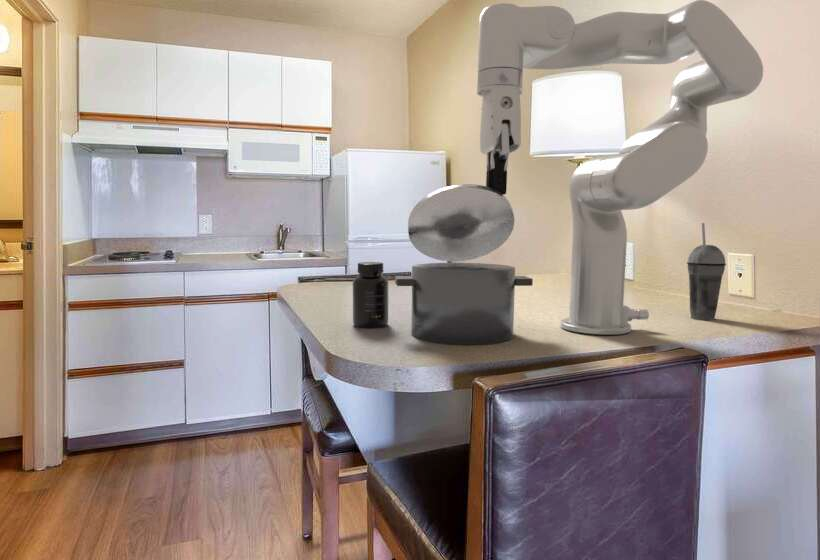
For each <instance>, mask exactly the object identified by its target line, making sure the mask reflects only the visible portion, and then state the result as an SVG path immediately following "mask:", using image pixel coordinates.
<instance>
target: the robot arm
mask: <svg viewBox="0 0 820 560" xmlns="http://www.w3.org/2000/svg"><path fill="white" fill-rule="evenodd" d="M697 54H698V55H699V56H700V57H701V59H702V60H700V61H697V62H694V63H692V64H690V65H688V66H687V67H684V68H683V69H682V70H681V71H680V72H679V73H678V74H677V75H676V77H675V79H674V80H673V83H672V85H671V89H670V103H669V104H670V105H669V109H668V111H667V112H666V113H665V114H664V115H662V116H661V117H660V118H658V119H657V120H655V121H653V122H652V123H651V124H649V125H648V126H646V127H644V128H642V129H641V130H639V131H637V132H636V133H634V134H633V135H631V136H630V137H629V138H628V139H627V140H625V141H624V143H623V144H622V146H621V147H620V149H619V152H618V154H615V155H607V156H602V157H596V158H593V159H589V160H587V161H585V162H583V163H582V164H580V165H579V166H577V168H575V170H574V172H573V173H572V176H571V177H570V178H571V179H570V181H569V190H568V191H569V199H570V200H569V201H570V206H571V212H572V213H571V215H572V241H571V242H572V245H571V264H570V265H571V266H570V267H571V269H570V290H569V291H570V292H569V293H570V294H569V315H568V316H569V317H565V318H563V319H561V320H560V328H562V329H565V330H567V331H571V332H575V333H580V334H581V333H582V334H589V335H599V336H600V335H603V336H605V335H606V336H607V335H608V336H612V335H613V336H614V335H625V334H628V333H630V332H631V331H632V325H631V323H629V322H632V321H633V320H641V321H642V320H646V321H647V320H648V319H649V318H650V317H649V315H650V313H649V311H648V309H644V308H643V309H642V308H641V309H634V308H631V307H629V306H627V305H624V304H625V303H624V298H625V280H626V262H627V261H626V260H627V247H628V245H627V244H628V231H627V227H626V222H625V219H624V216H623V212H622V211H624V210H625V211H627V210H628V211H631V210H633V211H634V210H639V209H643V208H645V207H648V206H651V205H652V204H653V203H655V202H657V201H658V200H660V199H661V198H663V197H665V196H666V195H667V194H669V193H670V192H672V191H673V190H674V189H676V188H677V187H679V186H681V184H683V183H685V182H686V181H687V180H689V179H691V178H692V177H693V176H694V175H695V174H697V172H698V171H699V170H700V169H701V167H702V166H703V164H704V163H705V161H706V158H707V154H708V150H709V149H708V148H709V145H708V144H709V143H708V139H707V134H708V124H707V122H708V116H707V114H708V113H707V111H708V107H711V106H714V105H718V104H722V103H726V102H730V101H734V100H735V101H736V100H739V99H742V98H744V97H747V96H749V95H751V94H752V93H753V92H754V91H756V90H757V89H758V88H759V85H760V84H761V82H762V81H763V80H762V79H763V76H764V65H763V62H762V59H761V56H760V55H759V53H758V52H757V50H756V49H755V48H754V46H753V45H752V43H750V41H749V39H747V38H746V36H745V35H744V34H743V32H741V30H740V29H739V28H738V27H737V25H736V24H735V23H734V21H733V20H732V19H731V18H730V17H729V16H728V15H727V14H726V13H725V11H723V10H722V9H721V8H720V7H718V6H717V5H715V4H714V3H712V2H710V1H708V0H694V1H692V2H689V3H688V4H685V5H684V6H681V7H679V8H677V9H675V10H673V11H670V12H667V13H648V12H647V13H646V12H629V11H613V12H610V13H605V14H601V15H598V16H595V17H594V18H590V19H588V20H585V21H582V22H580V23H575V20H574V17H573V15H572V14H571V13H570V12H569V11H568V10H566V9H564V8H563V7H559V6H555V5H539V6H519V5H517V4H514V3H505V2H503V3H495V4H491V5H488V6H487V7H485V8H483V10H482V11H481V13H480V15H479V26H478V53H477V55H478V58H477V60H478V61H477V63H478V64H477V83H476V84H477V89H476V91H477V92H476V94H477V96H480V97H482V103H481V116H480V135H479V143H480V144H479V149H480V152H481V154H483V155H486V174H485V175H486V179H485V186H486V187H489V188H492V189H494V190H496V191H498V192H500V193H501V194H502V195H503V196H505V195H506V194H507V188H508V187H507V183H508V164H509V163H508V162H509V155H510V154H512V153H514V152H516V151H517V150H518V149H520V147H521V143H522V142H521V141H522V140H521V139H522V127H521V125H522V122H521V121H522V119H521V118H522V117H521V116H522V115H521V113H522V111H521V95H522V93H523V76H524V73H523V72H524V69H526V70H561V69H562V70H563V69H571V68H582V67H596V66H603V65H609V64H612V65H614V64H616V65H617V64H621V65H622V64H623V65H624V64H626V65H627V64H630V65H632V64H633V65H667V64H672V63H676V62H679V61H681V60H684V59H687V58H690V57H693V56H694V55H697Z"/></svg>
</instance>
